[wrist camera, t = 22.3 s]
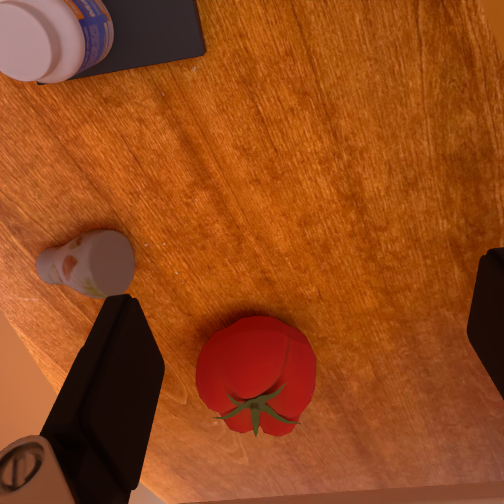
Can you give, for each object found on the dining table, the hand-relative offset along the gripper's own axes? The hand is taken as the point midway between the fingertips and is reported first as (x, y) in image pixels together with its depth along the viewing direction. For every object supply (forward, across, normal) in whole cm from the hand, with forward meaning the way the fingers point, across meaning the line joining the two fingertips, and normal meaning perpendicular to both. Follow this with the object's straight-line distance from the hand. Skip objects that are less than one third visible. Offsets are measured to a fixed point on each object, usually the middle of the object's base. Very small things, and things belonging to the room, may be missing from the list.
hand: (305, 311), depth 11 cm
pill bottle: (+27, +14, -7) cm, 31 cm away
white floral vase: (+28, +22, +14) cm, 39 cm away
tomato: (+28, +6, +30) cm, 42 cm away
